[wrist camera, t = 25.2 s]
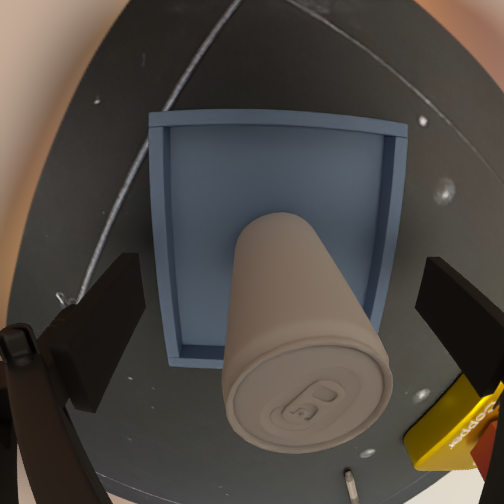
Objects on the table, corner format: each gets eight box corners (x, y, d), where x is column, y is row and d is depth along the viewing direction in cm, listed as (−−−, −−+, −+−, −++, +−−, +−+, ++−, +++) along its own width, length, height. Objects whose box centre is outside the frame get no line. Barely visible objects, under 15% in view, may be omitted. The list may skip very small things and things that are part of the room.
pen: (350, 465, 29) (353, 475, 27) (359, 504, 33) (361, 511, 32) (342, 468, 29) (344, 477, 27) (352, 506, 34) (354, 513, 32)
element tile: (492, 332, 23) (519, 362, 18) (540, 364, 25) (560, 386, 21) (394, 441, 27) (407, 475, 23) (464, 448, 30) (477, 472, 25)
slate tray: (158, 114, 17) (147, 112, 15) (393, 124, 17) (409, 124, 15) (174, 347, 22) (168, 366, 20) (361, 347, 22) (369, 364, 20)
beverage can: (219, 257, 19) (186, 420, 8) (269, 191, 18) (304, 298, 7) (283, 300, 20) (314, 468, 9) (334, 240, 19) (428, 380, 8)
